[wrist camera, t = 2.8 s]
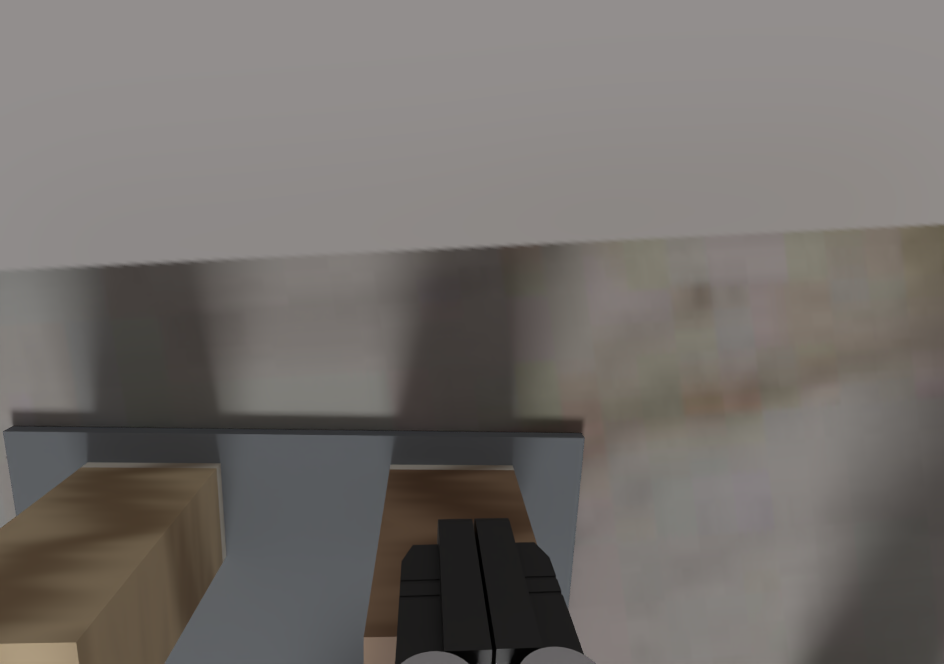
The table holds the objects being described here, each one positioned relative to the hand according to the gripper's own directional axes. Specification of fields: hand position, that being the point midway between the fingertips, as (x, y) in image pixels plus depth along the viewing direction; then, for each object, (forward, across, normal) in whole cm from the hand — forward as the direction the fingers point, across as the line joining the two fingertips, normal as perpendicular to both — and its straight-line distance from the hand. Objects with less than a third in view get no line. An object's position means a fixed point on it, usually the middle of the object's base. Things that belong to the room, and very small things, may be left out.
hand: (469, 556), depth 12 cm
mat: (+15, +7, +13) cm, 21 cm away
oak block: (+15, +14, +8) cm, 21 cm away
